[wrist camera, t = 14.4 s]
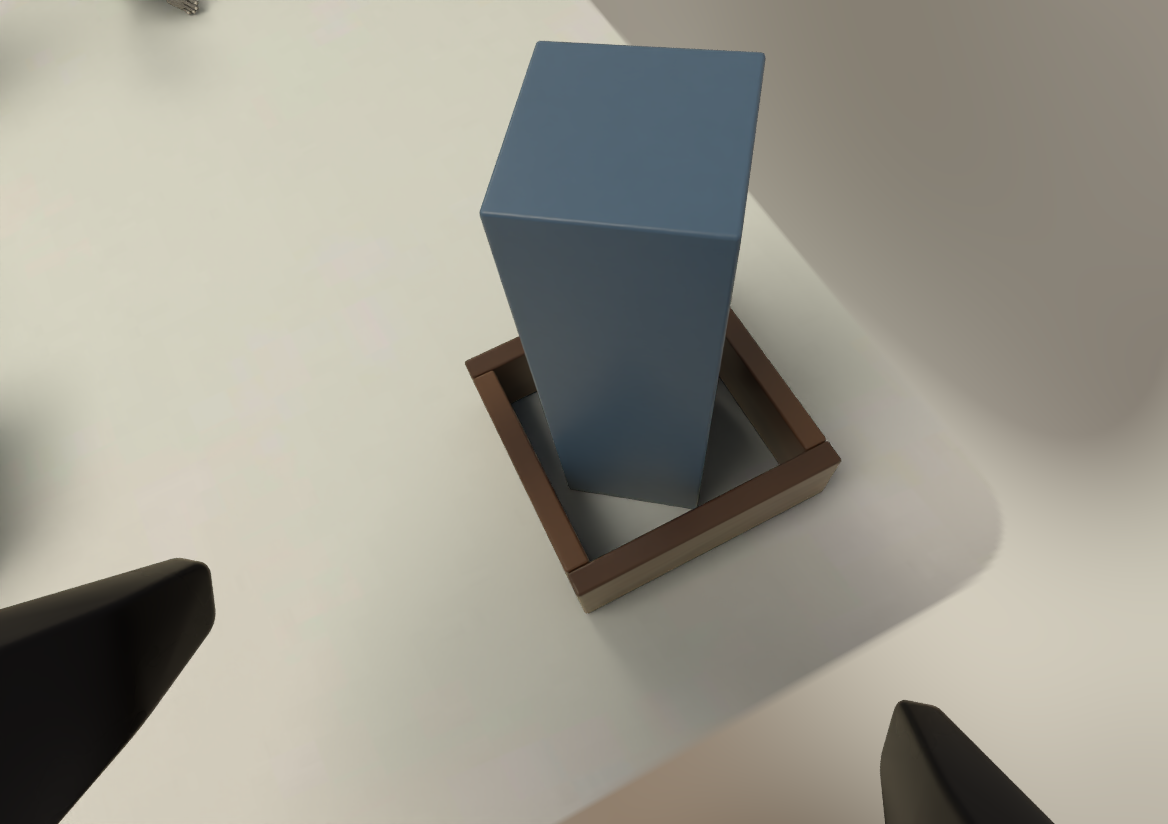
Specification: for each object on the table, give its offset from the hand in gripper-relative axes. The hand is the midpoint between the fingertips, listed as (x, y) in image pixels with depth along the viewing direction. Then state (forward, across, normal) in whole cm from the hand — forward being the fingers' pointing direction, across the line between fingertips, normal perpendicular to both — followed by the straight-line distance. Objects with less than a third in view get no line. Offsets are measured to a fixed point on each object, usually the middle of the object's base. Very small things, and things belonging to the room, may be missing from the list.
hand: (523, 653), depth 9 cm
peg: (+14, 0, +2) cm, 14 cm away
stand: (+14, 0, +2) cm, 14 cm away
